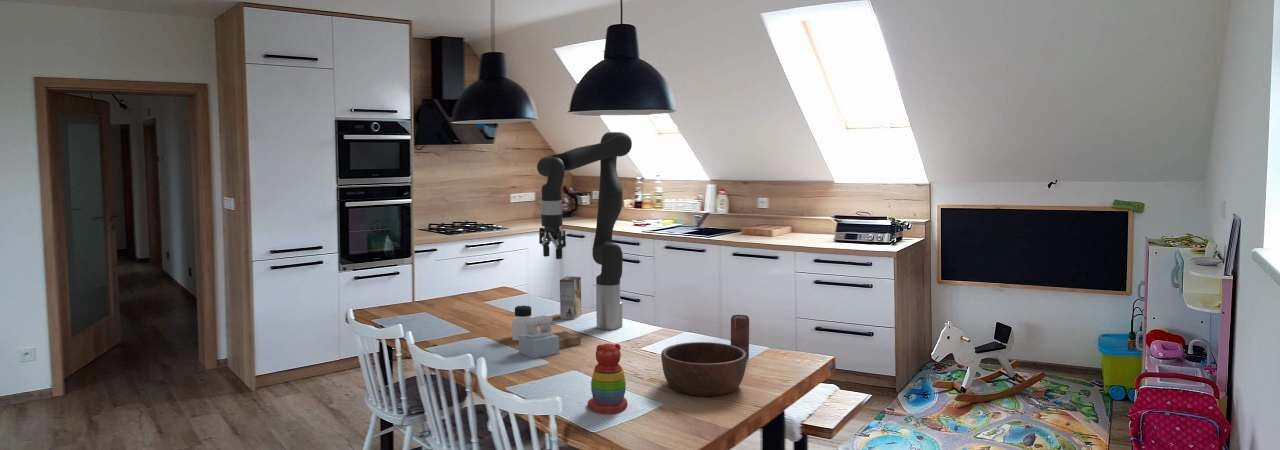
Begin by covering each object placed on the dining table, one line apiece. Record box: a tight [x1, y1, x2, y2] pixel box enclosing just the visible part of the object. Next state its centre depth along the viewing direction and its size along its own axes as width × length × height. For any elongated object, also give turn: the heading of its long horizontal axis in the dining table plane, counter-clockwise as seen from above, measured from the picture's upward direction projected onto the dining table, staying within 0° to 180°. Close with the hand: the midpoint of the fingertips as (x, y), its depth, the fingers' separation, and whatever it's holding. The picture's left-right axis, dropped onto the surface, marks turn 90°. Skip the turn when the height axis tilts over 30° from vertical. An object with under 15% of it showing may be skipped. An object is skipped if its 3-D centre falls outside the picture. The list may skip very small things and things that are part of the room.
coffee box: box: [559, 276, 582, 320], centre depth 321 cm, size 9×6×16 cm
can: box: [730, 314, 750, 359], centre depth 259 cm, size 6×6×14 cm
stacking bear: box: [587, 343, 628, 415], centre depth 210 cm, size 11×10×18 cm
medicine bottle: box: [511, 304, 533, 342], centre depth 286 cm, size 7×7×12 cm
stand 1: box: [518, 334, 560, 359], centre depth 267 cm, size 10×10×6 cm
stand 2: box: [553, 330, 582, 350], centre depth 278 cm, size 10×10×3 cm
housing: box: [524, 315, 553, 339], centre depth 266 cm, size 8×5×6 cm, turn 128°
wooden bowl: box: [660, 341, 748, 397], centre depth 229 cm, size 25×25×10 cm
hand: (552, 257), depth 282 cm, fingers open, 8 cm apart
